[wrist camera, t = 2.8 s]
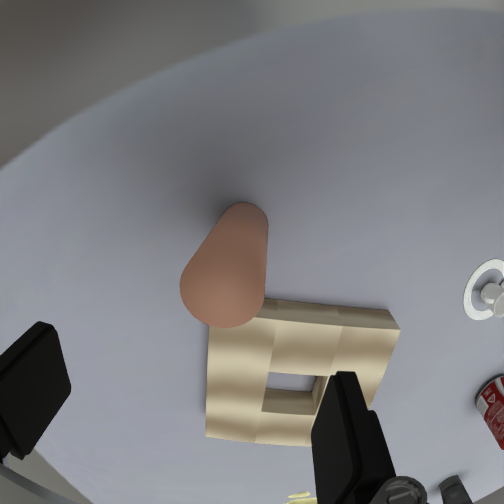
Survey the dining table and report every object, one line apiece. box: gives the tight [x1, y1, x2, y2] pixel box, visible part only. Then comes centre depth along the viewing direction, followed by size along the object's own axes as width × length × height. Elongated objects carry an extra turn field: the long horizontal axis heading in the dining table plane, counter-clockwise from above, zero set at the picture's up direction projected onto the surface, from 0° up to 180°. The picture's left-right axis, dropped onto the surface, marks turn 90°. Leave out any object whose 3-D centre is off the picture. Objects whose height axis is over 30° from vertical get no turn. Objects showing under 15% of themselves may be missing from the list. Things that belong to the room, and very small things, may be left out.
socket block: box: [205, 298, 401, 446], centre depth 33 cm, size 18×18×4 cm
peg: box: [180, 203, 268, 328], centre depth 23 cm, size 4×4×14 cm
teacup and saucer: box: [463, 259, 504, 320], centre depth 29 cm, size 9×8×4 cm
